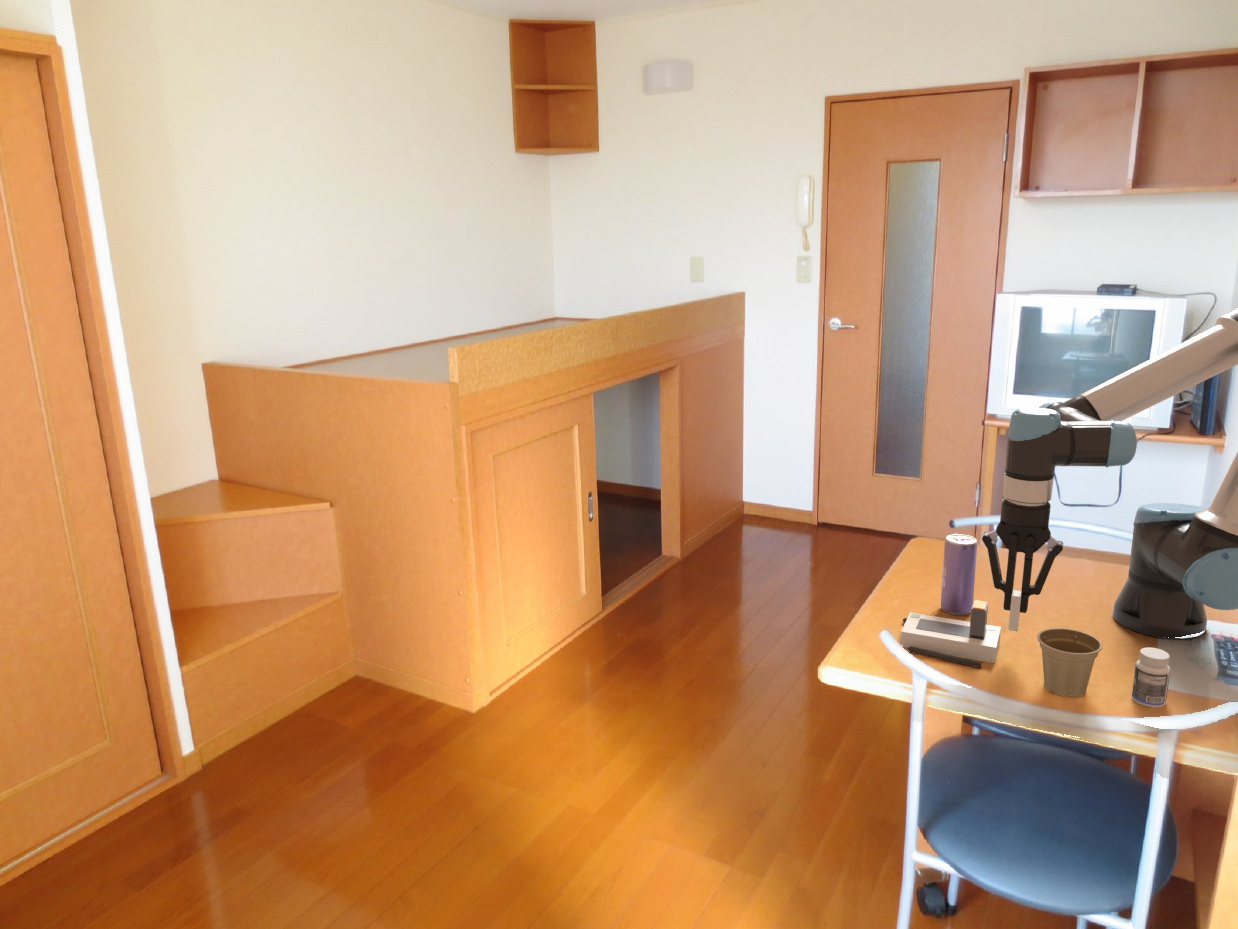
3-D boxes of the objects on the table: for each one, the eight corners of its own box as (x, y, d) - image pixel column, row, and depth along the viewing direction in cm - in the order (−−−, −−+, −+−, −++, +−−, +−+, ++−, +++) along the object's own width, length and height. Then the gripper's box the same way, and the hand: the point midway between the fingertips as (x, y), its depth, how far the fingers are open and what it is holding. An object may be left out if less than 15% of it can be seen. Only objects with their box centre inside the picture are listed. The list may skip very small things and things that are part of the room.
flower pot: (1028, 693, 144) (1032, 645, 142) (1038, 669, 152) (1042, 623, 150) (1092, 708, 139) (1098, 659, 137) (1099, 683, 147) (1105, 635, 144)
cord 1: (981, 666, 153) (981, 661, 153) (980, 669, 153) (980, 663, 152) (908, 650, 160) (908, 645, 160) (906, 652, 159) (907, 647, 159)
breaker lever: (986, 628, 160) (988, 601, 159) (983, 637, 157) (986, 609, 155) (972, 626, 161) (974, 599, 160) (969, 634, 158) (971, 607, 156)
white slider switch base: (999, 642, 162) (1001, 626, 161) (994, 663, 154) (996, 647, 154) (909, 626, 169) (910, 612, 168) (900, 646, 162) (901, 631, 161)
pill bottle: (1138, 690, 144) (1144, 643, 142) (1170, 701, 141) (1177, 653, 138) (1126, 700, 141) (1132, 652, 139) (1158, 712, 138) (1165, 663, 136)
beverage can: (974, 617, 172) (980, 544, 169) (942, 615, 174) (947, 543, 170) (969, 604, 178) (974, 534, 174) (938, 603, 179) (942, 533, 175)
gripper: (1070, 498, 150) (1055, 626, 156) (987, 489, 156) (976, 613, 162) (1068, 510, 143) (1053, 643, 150) (982, 501, 149) (971, 629, 155)
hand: (1013, 627), depth 156 cm, fingers closed
